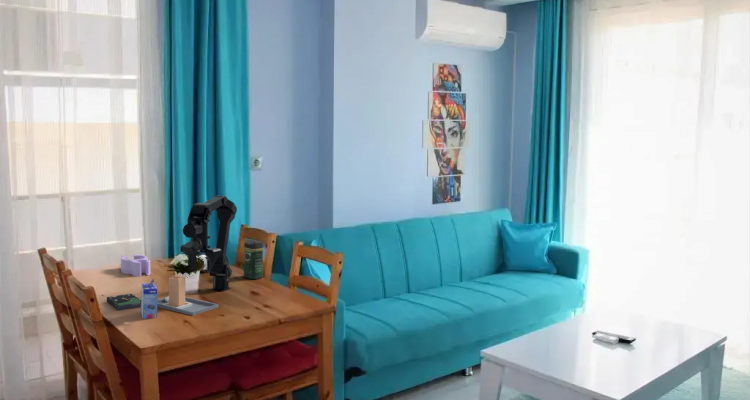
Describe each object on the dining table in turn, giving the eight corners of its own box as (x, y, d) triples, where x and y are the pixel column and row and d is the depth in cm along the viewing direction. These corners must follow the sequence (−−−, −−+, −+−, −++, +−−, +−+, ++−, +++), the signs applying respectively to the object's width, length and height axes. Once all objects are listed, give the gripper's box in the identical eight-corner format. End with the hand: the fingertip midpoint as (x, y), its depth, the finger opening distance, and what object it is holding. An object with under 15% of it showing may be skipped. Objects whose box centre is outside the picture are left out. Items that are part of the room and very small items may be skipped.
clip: (156, 274, 316) (156, 260, 315) (131, 278, 307) (131, 263, 307) (141, 266, 330) (141, 253, 330) (116, 269, 322) (116, 256, 321)
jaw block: (175, 304, 264) (175, 274, 263) (185, 305, 263) (185, 275, 261) (168, 307, 260) (168, 276, 258) (178, 308, 258) (178, 277, 257)
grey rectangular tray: (150, 306, 262) (150, 299, 262) (176, 299, 274) (176, 292, 274) (192, 317, 250) (192, 310, 250) (218, 309, 262) (218, 302, 262)
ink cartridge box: (158, 319, 246) (157, 282, 244) (142, 321, 244) (142, 283, 242) (155, 312, 255) (155, 276, 253) (140, 313, 253) (140, 277, 251)
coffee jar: (265, 278, 315) (266, 240, 313) (252, 280, 310) (252, 242, 308) (254, 274, 322) (255, 237, 320) (241, 276, 317) (241, 239, 315)
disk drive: (106, 303, 267) (118, 312, 255) (105, 297, 266) (118, 305, 255) (131, 299, 273) (144, 307, 262) (131, 293, 273) (144, 301, 262)
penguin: (218, 273, 333) (192, 266, 324) (224, 258, 334) (198, 250, 325) (225, 277, 326) (198, 269, 317) (231, 261, 327) (204, 253, 318)
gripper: (170, 233, 268) (170, 270, 270) (203, 239, 259) (202, 277, 261) (190, 230, 278) (190, 265, 280) (222, 235, 268) (222, 272, 270)
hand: (200, 270), depth 272 cm, fingers open, 9 cm apart
